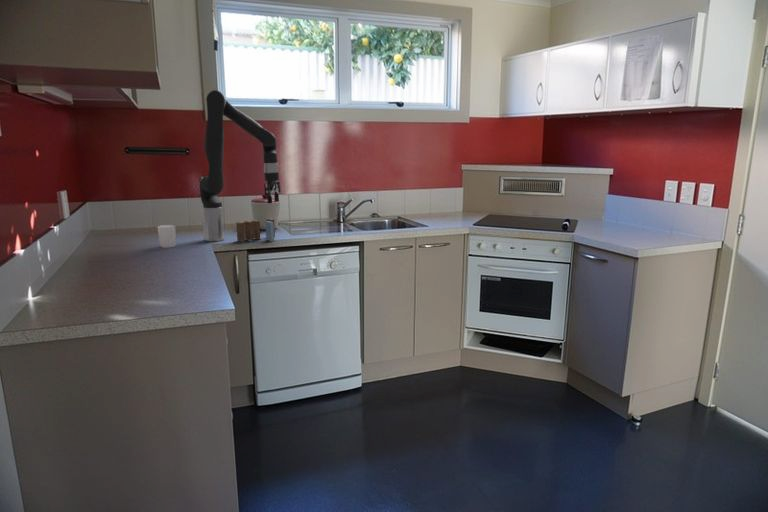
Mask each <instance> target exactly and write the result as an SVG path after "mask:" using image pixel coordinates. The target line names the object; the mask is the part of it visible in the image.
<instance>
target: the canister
mask: <svg viewBox="0 0 768 512" xmlns="http://www.w3.org/2000/svg"><path fill="white" fill-rule="evenodd" d="M249 204H250V208H251V214H252V215H251V216H252V219H253V220H257V221H260V229H261V230H262V231H266V222H265V221H267V219H268V218H270V219H274V226H275V229H276V228H277V227H278V225H279V220H280V204H281V200H280V199H279V201H275V198H274V197H272V203H268V199H267V196H266V195H265V192H264V193H262V194H261V197H256V198H253V199H251V200H249ZM261 230H260V231H261Z"/></svg>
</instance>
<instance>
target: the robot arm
mask: <svg viewBox="0 0 768 512" xmlns="http://www.w3.org/2000/svg"><path fill="white" fill-rule="evenodd" d="M206 110H207V118H206V119H207V121H206V127H205V133H204V134H205V136H204V153H205V155H206V156H205V157H206V159H207V164H208V175H205V176H203V177H202V178H201V179H200V183H199V191H200V193H199V194H200V199H201V203H202V207H203V221H202V230H203V231H202V232H203V240H204V241H206V242H220V241H223V240H225V235H224V234H225V233H224V232H225V231H224V220H223V219H224V218H223V204H222V201H221V200H220V198H219V194H221V193H222V191H223V189H224V171H223V169H224V168H223V165H224V164H223V163H224V147H225V132H224V131H225V130H224V121H223V120H224V117H226V118H228V120H230V121H232V122H234V123H235V124H236V125H237V126H238V127H239V128H241V130H244V131H245V132H246V133H248V134H249V135H250V136H252V137H254V138H256V139H257V140H258V141H259V142H260V143H262V151H263V175H264V177H263V178H264V181H265V182H267V183H264V184H263V186H264V193H265V195H266V196H267V199H268V203H272V198H275V201H279V200H280V197H279V195H280V193H281V183H280V181H279V180H280V176H279V175H280V174H279V163H278V154H277V143H276V142H277V138H276V135H275V134H273V133H272V132H270V131H269V130H268V129H266V128H264V127H263V126H262V125H261V124H260V123H258V122H257V121H256V120H254V119H253V118H251V117H250V116H248V115H247V114H245V113H244V112H242V111H241V110H238V109H237V108H236V107H234V106H233V105H232V104H231V103H230V102H229V101H228V100H227V99H226V97H225V94H223V92H221V91H220V90H217V89H216V90H215V89H214V90H211V91H210V92H209V93H207V95H206ZM273 194H274V195H273ZM272 196H273V197H272Z"/></svg>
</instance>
